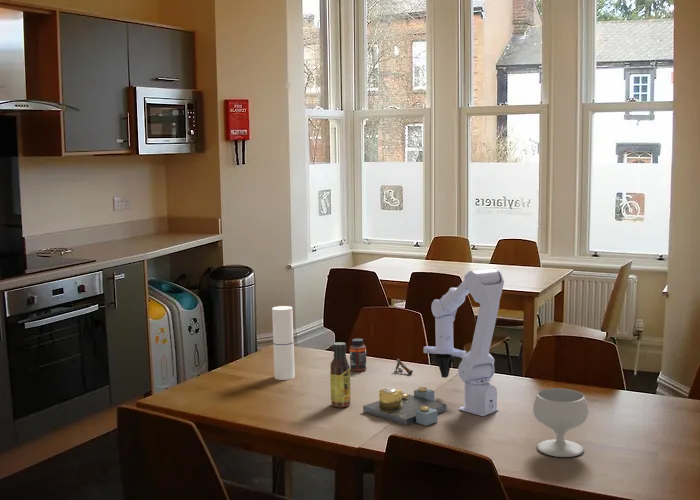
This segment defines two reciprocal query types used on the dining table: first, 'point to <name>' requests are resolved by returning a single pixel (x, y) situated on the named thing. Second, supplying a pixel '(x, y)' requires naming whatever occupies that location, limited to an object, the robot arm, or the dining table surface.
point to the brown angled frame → (403, 367)
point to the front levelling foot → (424, 393)
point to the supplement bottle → (357, 355)
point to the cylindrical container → (283, 342)
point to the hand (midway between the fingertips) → (445, 376)
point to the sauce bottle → (340, 377)
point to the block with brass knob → (426, 415)
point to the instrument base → (404, 410)
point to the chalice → (560, 419)
